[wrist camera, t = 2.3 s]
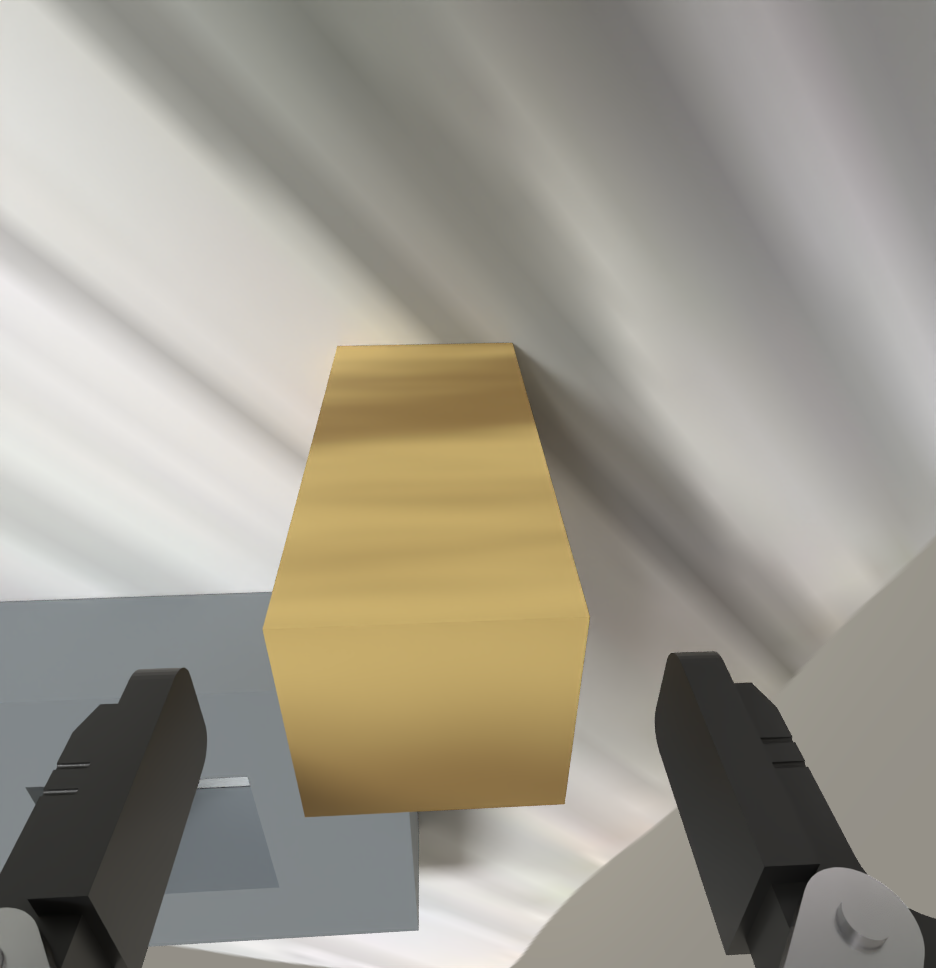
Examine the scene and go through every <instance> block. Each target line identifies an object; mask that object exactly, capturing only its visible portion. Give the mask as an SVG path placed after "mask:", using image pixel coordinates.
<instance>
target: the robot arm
mask: <svg viewBox="0 0 936 968" xmlns="http://www.w3.org/2000/svg"><path fill="white" fill-rule="evenodd" d="M655 732H656V739H657V744H658V748H659V752H660V755H661V758H662V761H663V764H664V767H665V770H666V773H667V776H668V779H669V782H670V785H671V788H672V791H673V794H674V797H675V800H676V803H677V806H678V809H679V812H680V816H681V818H682V822H683V825H684V828H685V831H686V833H687V837H688V840H689V843H690V846H691V849H692V852H693V855H694V858H695V861H696V864H697V867H698V870H699V874H700V877H701V880H702V882H703V886H704V889H705V892H706V895H707V898H708V901H709V904H710V907H711V910H712V913H713V916H714V919H715V922H716V925H717V928H718V931H719V934H720V938H721V941H722V944H723V946H724V950H725V953H726V955H738V954H751V956H752V959H753V961H754V965H755V967H756V968H936V919H934V918H931V917H928V916H925V915H923V914H920V913H918V912H916V911H914V910H911V909H909V908H907V906H906V905H905V904H904V903H903V902H902V900H901V899H900V898H899V897H898V896H897V895H896V894H895V893H894V892H893V891H891V890H890V889H889V888H888V887H886V886H885V885H884V884H882V883H881V882H880V881H878V880H876V879H874V878H873V877H871V876H869V875H867V873H866V872H865V871H864V870H863V868H862V867H861V865H860V864H859V862H858V860H857V859H856V857H855V855H854V853H853V852H852V850H851V848H850V846H849V844H848V842H847V840H846V838H845V836H844V834H843V833H842V830H841V829H840V827H839V825H838V823H837V821H836V819H835V817H834V815H833V813H832V811H831V810H830V808H829V806H828V804H827V802H826V800H825V798H824V796H823V794H822V792H821V791H820V789H819V787H818V785H817V783H816V781H815V780H814V778H813V776H812V773H811V771H810V770H809V768H808V767H806V766H805V762H804V761H805V760H804V758H803V756H802V755H801V752H800V751H799V749H798V747H797V745H796V743H795V742H793V741H792V735H791V734H790V732H789V730H788V728H787V726H786V724H785V722H784V720H783V718H782V716H781V714H780V713H779V711H778V709H777V707H776V706H775V705H774V704H773V703H772V702H771V701H770V700H769V699H768V698H767V697H766V696H765V695H764V694H762V693H761V692H760V691H759V690H758V689H757V688H756V687H755V686H754V685H753V684H752V683H734V682H733V680H732V678H731V676H730V674H729V672H728V670H727V668H726V666H725V663H724V661H723V660H722V658H721V656H720V655H719V654H718V653H717V652H714V651H712V652H682V653H671V654H670V655H669V656H668V659H667V662H666V667H665V671H664V676H663V680H662V684H661V689H660V693H659V698H658V702H657V707H656V711H655ZM206 751H207V731H206V725H205V722H204V719H203V715H202V712H201V709H200V705H199V702H198V699H197V695H196V692H195V689H194V685H193V682H192V679H191V676H190V673H189V671H188V670H187V669H186V668H157V669H138V670H136V671H135V672H134V673H133V674H132V675H131V677H130V679H129V681H128V683H127V685H126V687H125V689H124V692H123V694H122V696H121V698H120V700H119V702H118V704H100V705H99V706H98V707H97V708H96V709H95V710H94V711H93V712H92V713H91V714H90V715H89V716H88V717H87V718H86V719H85V720H84V721H83V722H82V723H81V724H80V725H79V726H78V727H77V728H76V729H75V730H74V731H73V732H72V734H71V736H70V738H69V740H68V742H67V744H66V746H65V748H64V750H63V752H62V754H61V756H60V758H59V760H58V762H57V768H56V770H53V771H52V773H51V775H50V777H49V779H48V781H47V783H46V785H45V787H44V789H43V791H44V792H43V795H42V796H40V797H39V799H38V801H37V803H36V805H35V807H34V808H33V810H32V812H31V814H30V816H29V818H28V820H27V822H26V824H25V826H24V828H23V830H22V832H21V834H20V836H19V838H18V840H17V842H16V844H15V845H14V847H13V849H12V851H11V853H10V855H9V857H8V859H7V861H6V863H5V865H4V867H3V869H2V871H1V873H0V968H142V965H143V962H144V958H145V955H146V952H147V949H148V946H149V942H150V939H151V936H152V933H153V929H154V926H155V923H156V920H157V916H158V913H159V910H160V907H161V903H162V900H163V897H164V894H165V890H166V887H167V884H168V881H169V877H170V874H171V871H172V868H173V864H174V861H175V858H176V855H177V851H178V848H179V845H180V842H181V838H182V835H183V832H184V829H185V825H186V822H187V819H188V816H189V812H190V809H191V806H192V803H193V799H194V796H195V793H196V790H197V787H198V783H199V780H200V777H201V774H202V770H203V767H204V763H205V758H206Z"/></svg>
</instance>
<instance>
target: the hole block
mask: <svg viewBox="0 0 936 968" xmlns="http://www.w3.org/2000/svg"><path fill="white" fill-rule="evenodd" d="M271 595H272V592H263V593H235V594H208V595H180V596H153V597H125V598H97V599H70V600H42V601H15V602H0V873H1V871H2V869H3V867H4V865H5V863H6V861H7V859H8V857H9V855H10V853H11V851H12V849H13V847H14V845H15V844H16V842H17V840H18V838H19V836H20V834H21V832H22V830H23V828H24V826H25V824H26V822H27V820H28V818H29V816H30V814H31V812H32V810H33V808H34V807H35V805H36V803H37V801H38V799H39V797H40V796H42V795H43V792H44V791H43V789H44V787H45V785H46V783H47V781H48V779H49V777H50V775H51V773H52V771H53V770H56V768H57V762H58V760H59V758H60V756H61V754H62V752H63V750H64V748H65V746H66V744H67V742H68V740H69V738H70V736H71V734H72V732H73V731H74V730H75V729H76V728H77V727H78V726H79V725H80V724H81V723H82V722H83V721H84V720H85V719H86V718H87V717H88V716H89V715H90V714H91V713H92V712H93V711H94V710H95V709H96V708H97V707H98V706H99V705H100V704H118V702H119V700H120V698H121V696H122V694H123V692H124V689H125V687H126V685H127V683H128V681H129V679H130V677H131V675H132V674H133V673H134V672H135V671H136V670H138V669H157V668H186V669H187V670H188V671H189V673H190V676H191V679H192V682H193V685H194V689H195V692H196V695H197V699H198V702H199V705H200V709H201V712H202V715H203V719H204V722H205V725H206V731H207V751H206V758H205V763H204V767H203V770H202V774H201V777H200V779H209V778H230V777H248V780H249V784H250V786H247V787H227V788H207V789H197V790H196V793H195V796H194V799H193V803H192V806H191V809H190V812H189V816H188V819H187V822H186V825H185V829H184V832H183V835H182V838H181V842H180V845H179V848H178V851H177V855H176V858H175V861H174V864H173V868H172V871H171V874H170V877H169V881H168V884H167V887H166V890H165V894H164V897H163V900H162V903H161V907H160V910H159V913H158V916H157V920H156V923H155V926H154V929H153V933H152V936H151V939H150V942H149V946H165V945H181V944H198V943H215V942H232V941H248V940H265V939H282V938H299V937H315V936H332V935H349V934H366V933H382V932H399V931H416V930H419V824H418V812H400V813H380V814H361V815H341V816H321V817H305V816H304V811H303V807H302V802H301V798H300V793H299V789H298V785H297V780H296V776H295V771H294V767H293V762H292V758H291V754H290V749H289V745H288V740H287V736H286V731H285V727H284V723H283V718H282V714H281V709H280V705H279V700H278V696H277V692H276V687H275V683H274V678H273V674H272V669H271V665H270V661H269V656H268V652H267V647H266V643H265V638H264V634H263V630H262V629H263V625H264V622H265V618H266V614H267V610H268V607H269V603H270V599H271Z"/></svg>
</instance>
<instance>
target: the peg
mask: <svg viewBox="0 0 936 968" xmlns="http://www.w3.org/2000/svg"><path fill="white" fill-rule="evenodd" d="M589 620H590V615H589V612H588V608H587V605H586V601H585V598H584V594H583V591H582V587H581V584H580V580H579V577H578V573H577V569H576V566H575V562H574V559H573V555H572V552H571V548H570V545H569V541H568V538H567V534H566V531H565V527H564V524H563V520H562V517H561V513H560V509H559V506H558V502H557V499H556V495H555V492H554V488H553V485H552V481H551V478H550V474H549V471H548V467H547V464H546V460H545V457H544V453H543V449H542V446H541V442H540V439H539V435H538V432H537V428H536V425H535V421H534V418H533V414H532V411H531V407H530V404H529V400H528V397H527V393H526V389H525V386H524V382H523V379H522V375H521V372H520V368H519V365H518V361H517V358H516V354H515V351H514V347H513V344H512V343H473V344H422V345H371V346H337V350H336V354H335V357H334V361H333V365H332V369H331V372H330V376H329V380H328V384H327V388H326V391H325V395H324V399H323V403H322V406H321V410H320V414H319V418H318V422H317V425H316V429H315V433H314V437H313V440H312V444H311V448H310V452H309V456H308V459H307V463H306V467H305V471H304V474H303V478H302V482H301V486H300V490H299V493H298V497H297V501H296V505H295V508H294V512H293V516H292V520H291V524H290V527H289V531H288V535H287V539H286V542H285V546H284V550H283V554H282V557H281V561H280V565H279V569H278V573H277V576H276V580H275V584H274V588H273V591H272V595H271V599H270V603H269V607H268V610H267V614H266V618H265V622H264V625H263V629H262V630H263V634H264V638H265V643H266V647H267V652H268V656H269V661H270V665H271V669H272V674H273V678H274V683H275V687H276V692H277V696H278V700H279V705H280V709H281V714H282V718H283V723H284V727H285V731H286V736H287V740H288V745H289V749H290V754H291V758H292V762H293V767H294V771H295V776H296V780H297V785H298V789H299V793H300V798H301V802H302V807H303V811H304V816H305V817H321V816H341V815H361V814H380V813H400V812H420V811H439V810H459V809H479V808H498V807H518V806H538V805H557V804H565V797H566V790H567V782H568V775H569V768H570V760H571V753H572V745H573V738H574V731H575V723H576V716H577V709H578V701H579V694H580V686H581V679H582V672H583V664H584V657H585V650H586V642H587V635H588V627H589Z"/></svg>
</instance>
